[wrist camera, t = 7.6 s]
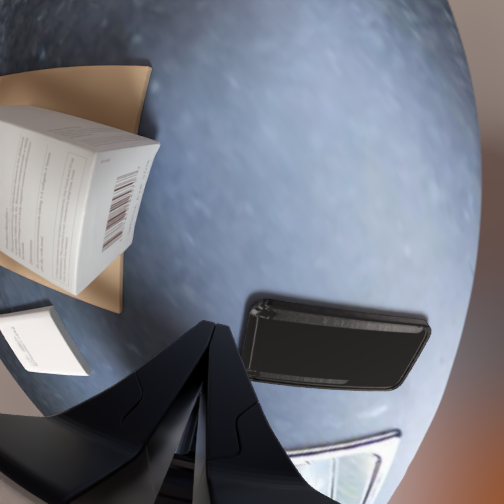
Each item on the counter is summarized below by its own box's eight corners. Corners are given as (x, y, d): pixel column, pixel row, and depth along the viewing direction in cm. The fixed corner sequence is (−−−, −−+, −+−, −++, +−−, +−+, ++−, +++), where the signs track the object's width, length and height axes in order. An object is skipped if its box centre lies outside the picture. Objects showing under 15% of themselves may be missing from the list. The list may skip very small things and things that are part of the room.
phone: (251, 302, 20) (435, 325, 20) (252, 293, 21) (430, 318, 21) (236, 379, 23) (396, 392, 23) (238, 370, 24) (393, 383, 24)
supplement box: (164, 140, 16) (29, 100, 15) (99, 151, 9) (-44, 106, 8) (133, 245, 19) (14, 188, 18) (75, 303, 12) (-51, 216, 11)
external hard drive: (95, 367, 26) (32, 365, 28) (56, 302, 23) (0, 312, 25) (88, 377, 25) (26, 372, 26) (47, 310, 22) (-7, 319, 24)
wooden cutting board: (122, 309, 22) (119, 313, 21) (-7, 257, 21) (-11, 259, 21) (152, 68, 15) (148, 66, 14) (-3, 78, 14) (-7, 77, 14)
